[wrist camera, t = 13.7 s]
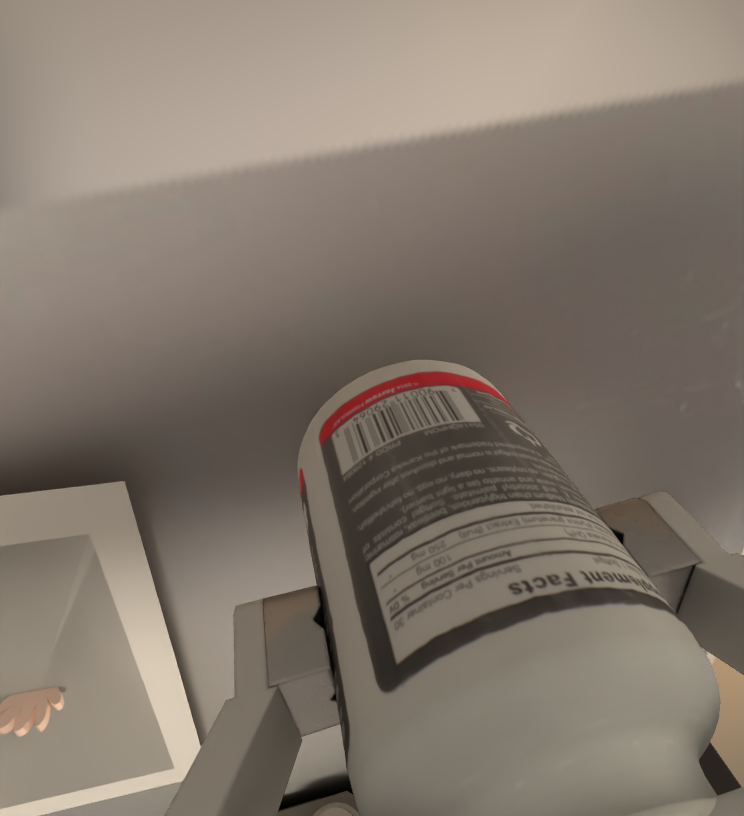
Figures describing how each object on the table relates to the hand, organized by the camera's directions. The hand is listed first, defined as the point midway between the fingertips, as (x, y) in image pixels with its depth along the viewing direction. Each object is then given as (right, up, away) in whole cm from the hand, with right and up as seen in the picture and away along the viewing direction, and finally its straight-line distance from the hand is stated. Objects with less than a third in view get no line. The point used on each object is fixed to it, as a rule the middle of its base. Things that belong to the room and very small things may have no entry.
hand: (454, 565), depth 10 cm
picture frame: (-12, -5, +6) cm, 14 cm away
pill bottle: (-1, +2, +3) cm, 4 cm away
